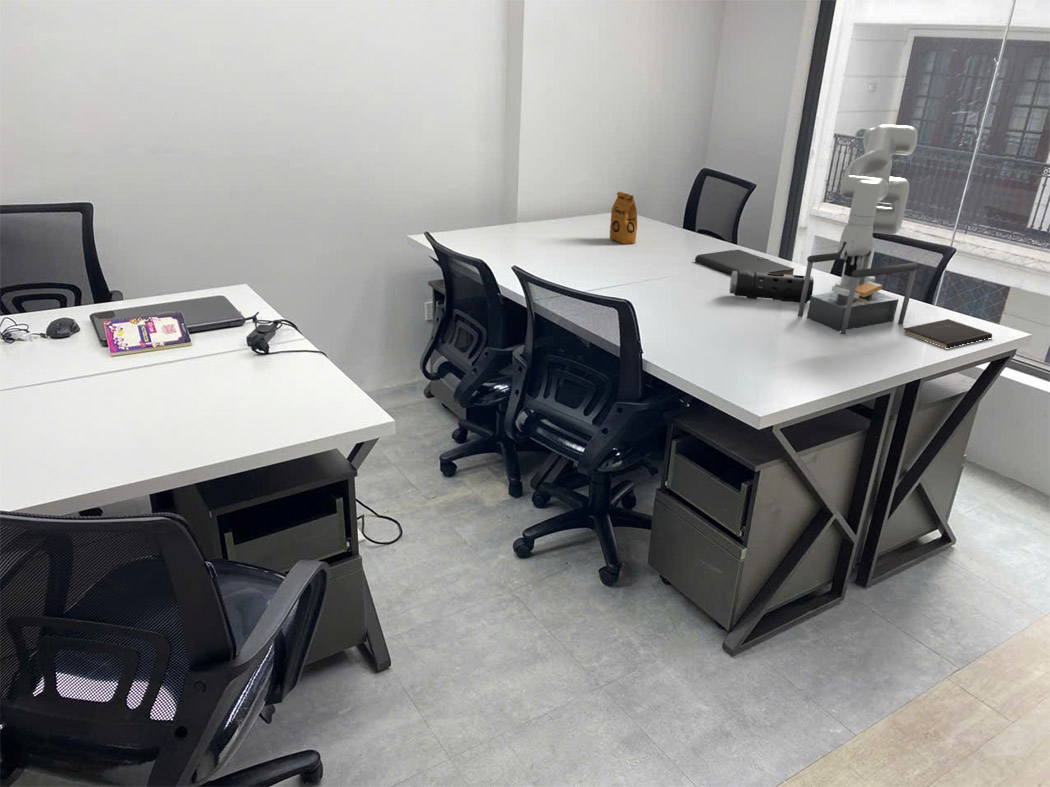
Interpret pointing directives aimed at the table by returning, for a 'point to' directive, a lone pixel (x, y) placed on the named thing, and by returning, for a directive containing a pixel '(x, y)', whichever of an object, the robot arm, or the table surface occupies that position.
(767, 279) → the muzzle brake
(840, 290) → the set paddle
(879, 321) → the box
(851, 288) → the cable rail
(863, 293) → the paddle
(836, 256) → the rail
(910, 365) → the table surface
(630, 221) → the coffee package
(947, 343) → the hardcover book
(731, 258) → the file folder
